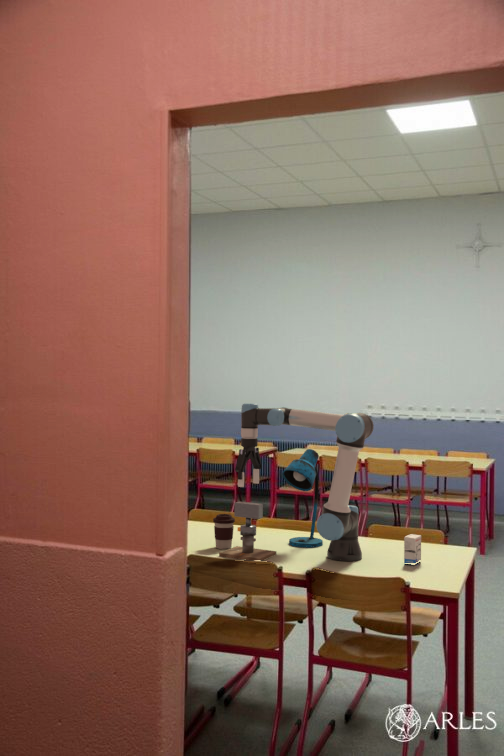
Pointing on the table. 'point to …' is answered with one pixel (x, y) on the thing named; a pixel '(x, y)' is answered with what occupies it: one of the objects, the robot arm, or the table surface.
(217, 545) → the coffee cup
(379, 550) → the table surface
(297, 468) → the desk lamp
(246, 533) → the twist cap
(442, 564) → the table surface
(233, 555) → the post base
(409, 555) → the ink box
